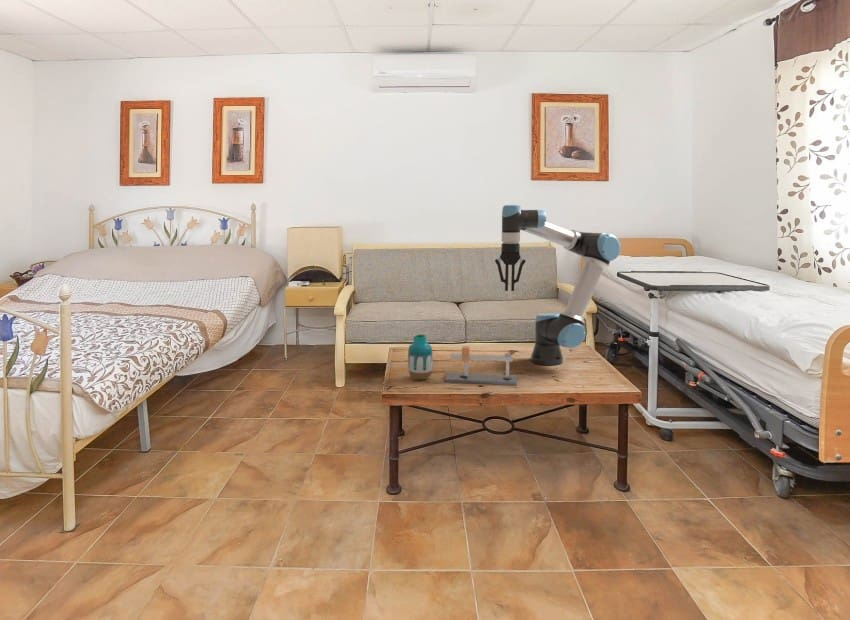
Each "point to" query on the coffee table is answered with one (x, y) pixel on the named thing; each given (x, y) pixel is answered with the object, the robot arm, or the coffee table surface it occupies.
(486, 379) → the flange plate
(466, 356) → the block
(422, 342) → the vase
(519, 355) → the coffee table surface
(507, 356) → the bar
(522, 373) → the coffee table surface
